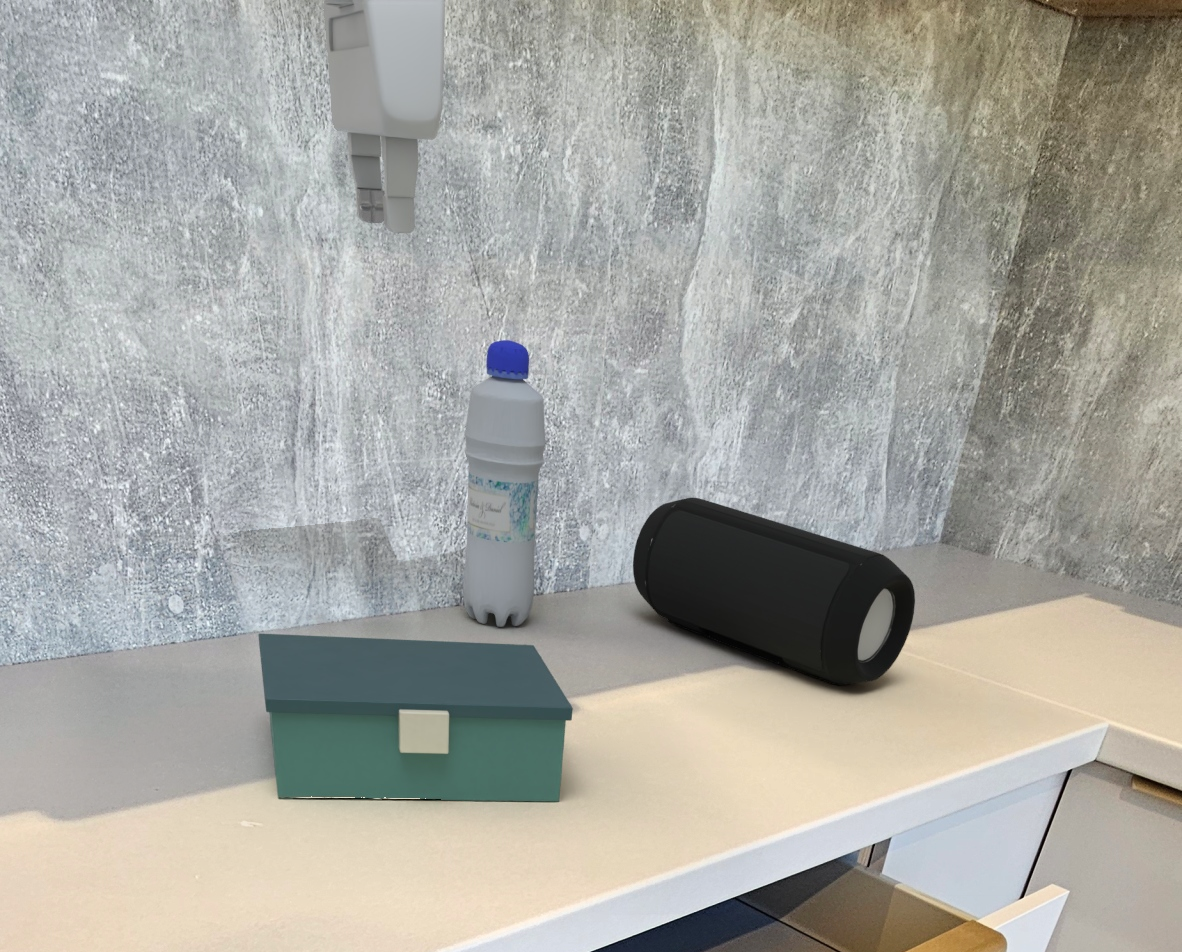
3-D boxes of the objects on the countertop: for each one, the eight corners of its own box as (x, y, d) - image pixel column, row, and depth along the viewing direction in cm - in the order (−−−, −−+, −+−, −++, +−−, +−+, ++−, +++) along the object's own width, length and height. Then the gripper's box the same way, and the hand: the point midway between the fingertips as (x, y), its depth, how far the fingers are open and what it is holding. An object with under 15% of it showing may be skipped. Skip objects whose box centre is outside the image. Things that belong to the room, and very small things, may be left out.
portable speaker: (901, 685, 105) (934, 556, 98) (836, 702, 100) (866, 567, 93) (688, 607, 117) (705, 488, 110) (619, 618, 112) (632, 494, 105)
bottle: (444, 616, 106) (449, 333, 93) (491, 604, 110) (502, 332, 97) (503, 635, 104) (517, 348, 90) (548, 623, 108) (568, 346, 94)
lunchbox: (273, 803, 73) (265, 701, 69) (265, 725, 83) (258, 630, 79) (566, 806, 78) (574, 710, 73) (526, 731, 87) (532, 642, 83)
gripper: (293, -62, 79) (315, 214, 89) (349, -95, 66) (368, 236, 75) (386, -51, 81) (397, 219, 91) (460, -81, 67) (465, 241, 77)
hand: (385, 227), depth 83 cm, fingers open, 8 cm apart
